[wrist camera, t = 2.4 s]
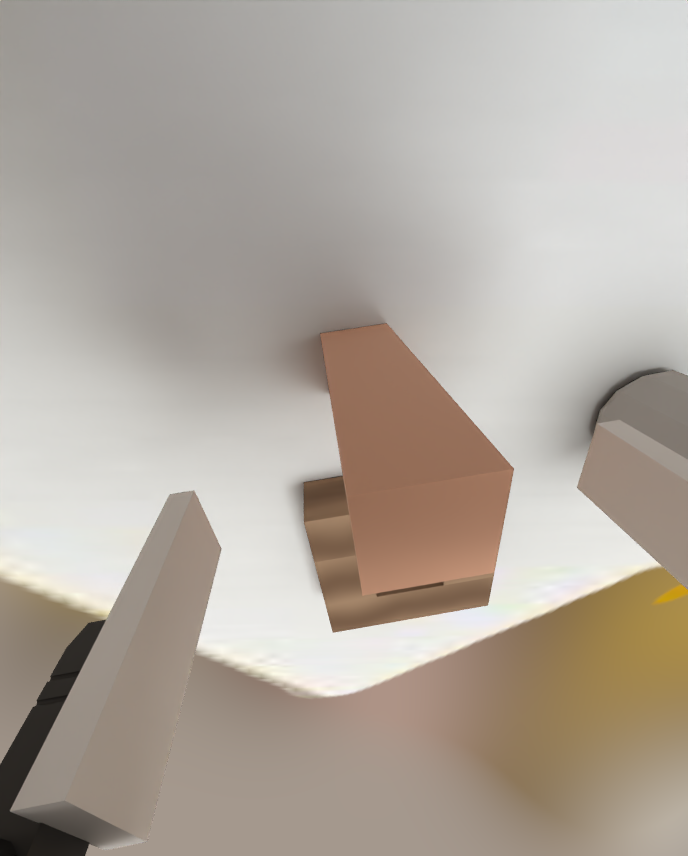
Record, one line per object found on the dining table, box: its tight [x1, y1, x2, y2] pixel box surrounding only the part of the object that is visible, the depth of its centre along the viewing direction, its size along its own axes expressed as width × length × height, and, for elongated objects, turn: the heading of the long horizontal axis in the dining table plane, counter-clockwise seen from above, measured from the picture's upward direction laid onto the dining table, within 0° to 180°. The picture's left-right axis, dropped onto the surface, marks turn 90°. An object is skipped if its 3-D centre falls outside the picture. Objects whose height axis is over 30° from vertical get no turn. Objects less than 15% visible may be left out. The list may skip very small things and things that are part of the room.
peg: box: [320, 323, 514, 596], centre depth 15 cm, size 4×4×14 cm
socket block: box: [304, 476, 510, 633], centre depth 27 cm, size 14×14×4 cm
